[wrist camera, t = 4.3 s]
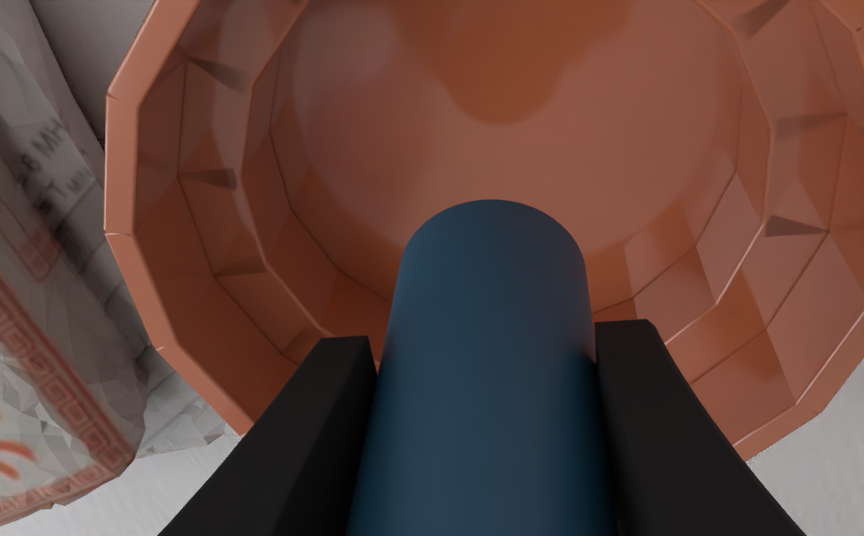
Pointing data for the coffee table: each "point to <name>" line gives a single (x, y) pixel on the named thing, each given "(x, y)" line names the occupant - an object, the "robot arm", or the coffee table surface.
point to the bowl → (497, 178)
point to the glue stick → (487, 387)
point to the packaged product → (69, 303)
